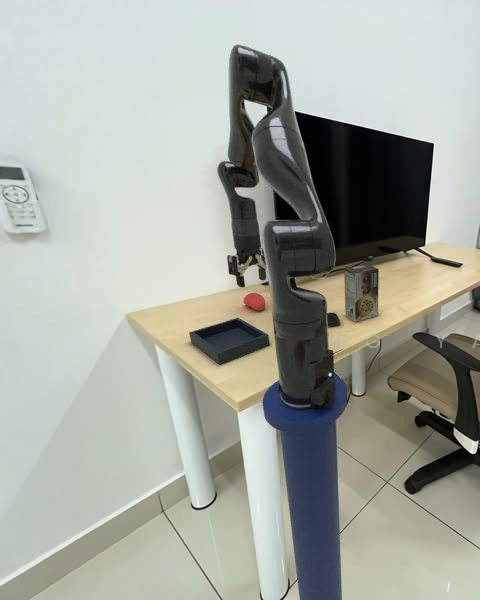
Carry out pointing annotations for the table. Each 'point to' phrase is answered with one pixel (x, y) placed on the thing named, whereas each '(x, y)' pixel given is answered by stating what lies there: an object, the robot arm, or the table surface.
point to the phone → (333, 319)
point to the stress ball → (254, 301)
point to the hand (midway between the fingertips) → (252, 283)
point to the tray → (229, 340)
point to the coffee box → (361, 292)
